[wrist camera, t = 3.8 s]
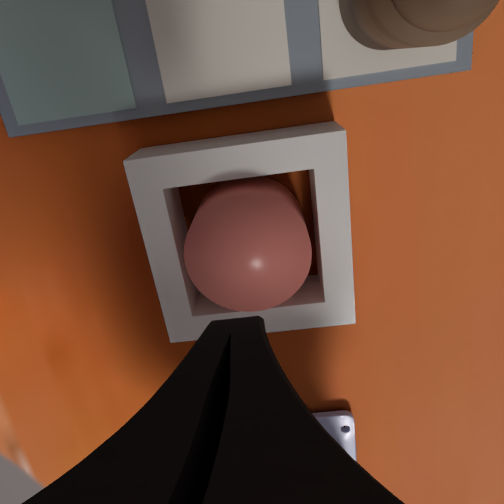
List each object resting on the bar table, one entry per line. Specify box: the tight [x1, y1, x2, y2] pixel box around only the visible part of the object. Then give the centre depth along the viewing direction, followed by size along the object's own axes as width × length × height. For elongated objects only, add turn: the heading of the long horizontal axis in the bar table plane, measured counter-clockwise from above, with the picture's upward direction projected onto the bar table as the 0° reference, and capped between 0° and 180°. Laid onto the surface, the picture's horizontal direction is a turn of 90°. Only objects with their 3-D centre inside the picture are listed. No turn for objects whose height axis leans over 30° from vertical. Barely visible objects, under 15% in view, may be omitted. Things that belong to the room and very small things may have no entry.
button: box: [184, 176, 312, 312], centre depth 17 cm, size 5×5×3 cm
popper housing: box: [123, 121, 356, 343], centre depth 18 cm, size 8×8×2 cm
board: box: [0, 0, 473, 138], centre depth 16 cm, size 6×18×1 cm, turn 98°
